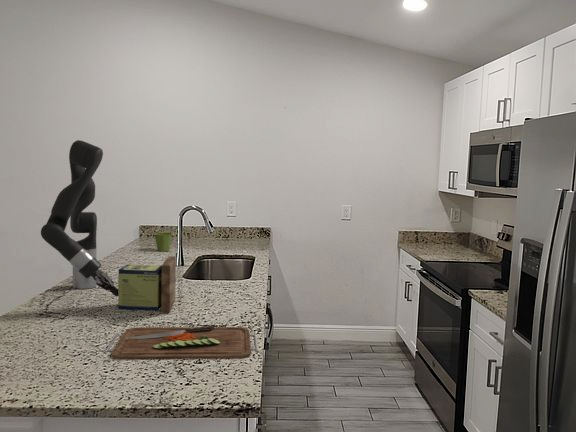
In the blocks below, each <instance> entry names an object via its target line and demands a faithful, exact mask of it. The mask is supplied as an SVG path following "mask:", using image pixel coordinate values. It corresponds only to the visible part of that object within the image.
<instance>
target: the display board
mask: <svg viewBox="0 0 576 432" xmlns="http://www.w3.org/2000/svg"><path fill="white" fill-rule="evenodd" d="M176 264H177V256H176V255H172V256H169V255H168V256H167V257H166V259H165V260H164V262H163V263H162V264H161V265H162V298H161V308H160V310H161V311H160V312H161V314H170V313H171V311H172V309H173V306H174V304H175V301H176V276H177V275H176V273H177V272H176V268H177V265H176Z"/></svg>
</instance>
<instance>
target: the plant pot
mask: <svg viewBox="0 0 576 432" xmlns="http://www.w3.org/2000/svg"><path fill="white" fill-rule="evenodd" d="M153 235H154V237H155V243H156V249H157V252H160V253H161V252H163V253H165V252H170V247H171V241H172V237H173V235H174V233H173V232H155V233H153Z"/></svg>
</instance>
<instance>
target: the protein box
mask: <svg viewBox="0 0 576 432" xmlns="http://www.w3.org/2000/svg"><path fill="white" fill-rule="evenodd" d="M117 280H118V283H117V284H118V285H117V287H118V288H117V289H118V296H117V299H118V300H117V302H118V304H117V309H118V310H129V311H130V310H131V311H155V312H157V311H159V310H161V298H162V264H161V265H158V264H157V265H156V264H153V265H152V264H151V265H150V264H126V265H124V266H122V267H121V268H119V269H118V279H117Z"/></svg>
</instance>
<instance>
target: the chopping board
mask: <svg viewBox="0 0 576 432" xmlns="http://www.w3.org/2000/svg"><path fill="white" fill-rule="evenodd" d="M118 337H120V339H119V340H118V342H117V343H116V345H115V347H114V348H112V349H111V347H112V346H113V344H114V343H115V341H116V340H117V338H118ZM251 337H253V339H254V340H253V341H254V346H255V347H254V348H252V346H251ZM258 345H259V343H258V338H257V332H253V334H251V333H250V330H249V328H247V327H242V326H241V327H240V326H238V327H237V326H234V327H233V326H224V327H223V326H218V327H217V326H216V327H215V325H207V326H206V325H205V326H197V327H196V326H191V327H189V326H188V327H187V326H185V327H184V326H183V327H182V326H177V327H176V326H172V327H169V326H168V327H164V326H163V327H159V326H158V327H157V326H155V327H151V326H150V327H148V326H147V327H145V326H143V327H140V326H139V327H131V328H128V329H126V330H125V332H124V333H123V334H120V333H119V332H117V333H116V334H115V336H114V337H113V339H112V340H111V342H110V343H109V344H108V345H107V347H106V348H105V350H104V351H103V352H104V353H108V352H111V354H110V355H111V356H110V357H111V358H112V359H116V360H157V359H160V360H161V359H163V360H167V359H169V360H170V359H171V360H174V359H175V360H176V359H181V360H182V359H184V360H185V359H188V360H189V359H246V358H249V357H250V356H251V355H252V351H255V352H259V346H258Z"/></svg>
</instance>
